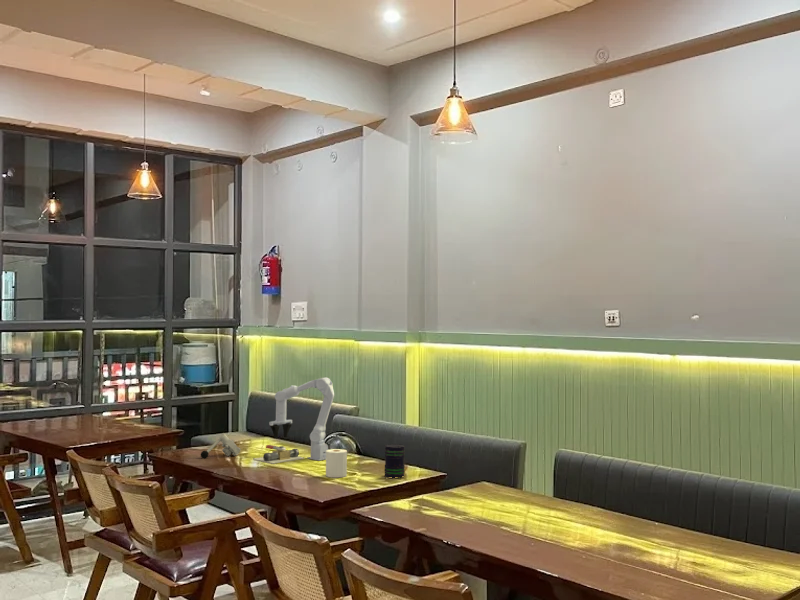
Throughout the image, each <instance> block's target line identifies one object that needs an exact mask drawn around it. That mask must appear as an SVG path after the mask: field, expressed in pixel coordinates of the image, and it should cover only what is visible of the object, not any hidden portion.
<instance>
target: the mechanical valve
mask: <svg viewBox="0 0 800 600" xmlns="http://www.w3.org/2000/svg"><path fill="white" fill-rule="evenodd" d="M220 442H221V443H222V444H221V447H222V449H221V450H222V452H223V453H224V454H225V456H227V457H230V456H232V455H233V456H234V457H235V456H238V455H239V454H240V453H241V450H242V449H241V448H240V447H238V445H237V444H236V443H235V440H234V439H230V438H229V436H227V434H226V433H224V432H223V433H221V434H220V435H219V437H218V439H216V441H215V442H214V443H213V444H212V445H211V446H210V447H208V449H207V450H202V451H201V452H200V457H201V459H207V458H208V457H209V453H210V452H211V451H212V450H213V449H214V448H215V447H216V446H217V445H218V444H219V443H220Z"/></svg>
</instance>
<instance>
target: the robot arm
mask: <svg viewBox="0 0 800 600" xmlns="http://www.w3.org/2000/svg"><path fill="white" fill-rule="evenodd" d="M333 384H334V383H333V382H332V380H331V379H330V378H329V377H327V376H325V377H319V378H316V379H312V380H310V381H309V380H308V381H307V382H305V383H302V384H301V385H293V384H291V385H290V386H289V387H286V388H283V389H282V390H278V391H277V392H275V394H274V399H275V403H276V404H275V420H271V421H269V422H268V423H269V428H271V431H272V433H273V437H274V439H278V438H279V430H280V425H281V426H282V429H283V437H284V438H287V437H288V434H289V431H290V429H291V427H292V424H293V419H287V406H288V405H287V403H288V402H287V400H289V399H292V398H294V397H297V396H299V394H300V393H301V392H304V391H306V390H309V389H311V388H313V389H317V390H318V391H320V392H321V394H322V395H323V400H322V403H321V406H320V410H319V412H318V413H319V414H318V417H317V420H316V424H315V425H314V427H313V430H312V431H311V433H309V439H310V457H309V456H308V457H306V458H307V459H310V460H314V461H326V450H329V446H328V444H327V443H325V438H326V429H327V428H326V425H327V422H328V418H329V414H330V411H331V407H332V404H333V401H334V398H335V391H334V387H333Z"/></svg>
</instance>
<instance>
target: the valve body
mask: <svg viewBox="0 0 800 600" xmlns="http://www.w3.org/2000/svg"><path fill="white" fill-rule="evenodd" d="M298 456H300V452H299V449H298V448H292V449H289V450H288V449H286V450H285V451H277V450H272V452H265V453H264V454H263V456H262V457H263V459H264V461H270V460H276V459H277V460H284V459H290V457H298Z"/></svg>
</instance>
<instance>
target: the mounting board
mask: <svg viewBox="0 0 800 600" xmlns="http://www.w3.org/2000/svg"><path fill="white" fill-rule="evenodd" d="M252 460H253V461H257V462H262V463H267V464H271V465H273V464H278V463H286V462H291V461H297V460H305V456H304V457H302V456H300V455H298V457H290V459H284V460H277V459H276V460H270V461H264V459H263V456H262V457H261V456H260V457H256V458H253V459H252Z"/></svg>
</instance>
